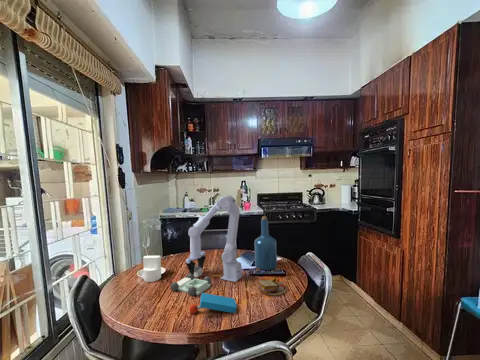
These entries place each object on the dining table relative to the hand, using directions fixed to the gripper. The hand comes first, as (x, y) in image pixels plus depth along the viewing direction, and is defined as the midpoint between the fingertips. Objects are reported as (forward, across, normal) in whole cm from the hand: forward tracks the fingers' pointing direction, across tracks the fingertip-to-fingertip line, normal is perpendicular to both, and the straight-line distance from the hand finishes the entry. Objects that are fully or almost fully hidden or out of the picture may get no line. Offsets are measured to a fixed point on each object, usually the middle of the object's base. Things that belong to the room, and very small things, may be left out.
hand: (196, 271), depth 131 cm
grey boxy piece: (+2, 0, 0) cm, 2 cm away
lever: (+2, +25, +28) cm, 38 cm away
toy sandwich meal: (+2, -1, +45) cm, 45 cm away
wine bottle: (+2, -27, +31) cm, 41 cm away
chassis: (+2, +13, +7) cm, 15 cm away
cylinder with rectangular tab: (+2, +13, -20) cm, 24 cm away
